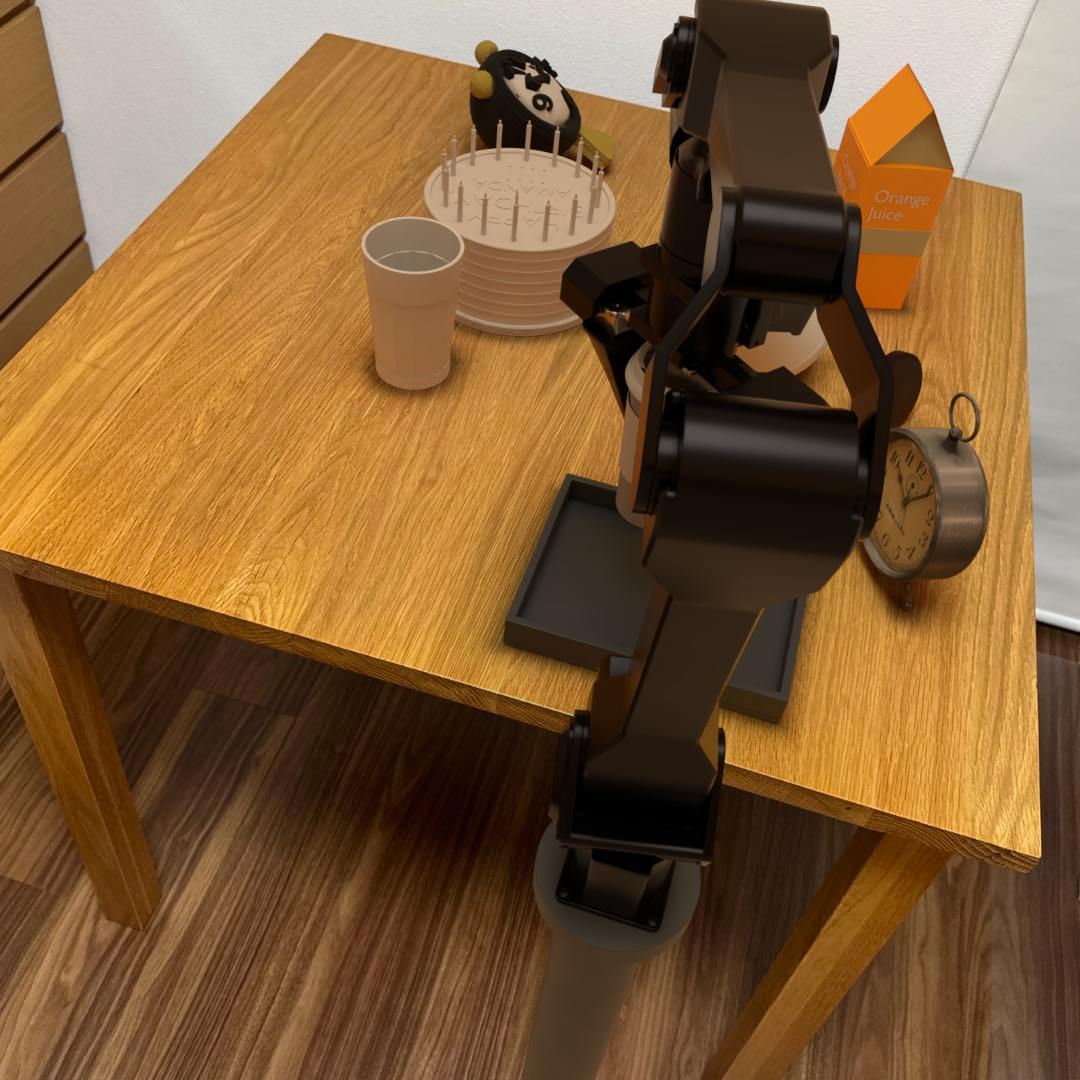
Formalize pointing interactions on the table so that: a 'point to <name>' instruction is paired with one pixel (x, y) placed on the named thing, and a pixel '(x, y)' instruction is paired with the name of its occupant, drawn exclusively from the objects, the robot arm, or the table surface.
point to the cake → (519, 231)
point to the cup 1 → (412, 298)
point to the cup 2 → (631, 420)
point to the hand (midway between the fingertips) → (664, 453)
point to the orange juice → (893, 185)
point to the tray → (628, 601)
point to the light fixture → (812, 344)
